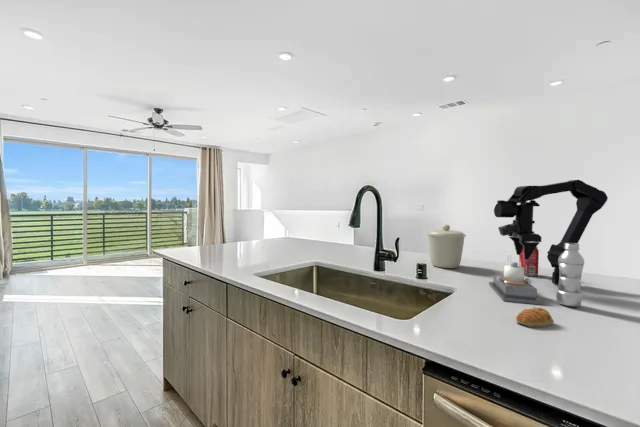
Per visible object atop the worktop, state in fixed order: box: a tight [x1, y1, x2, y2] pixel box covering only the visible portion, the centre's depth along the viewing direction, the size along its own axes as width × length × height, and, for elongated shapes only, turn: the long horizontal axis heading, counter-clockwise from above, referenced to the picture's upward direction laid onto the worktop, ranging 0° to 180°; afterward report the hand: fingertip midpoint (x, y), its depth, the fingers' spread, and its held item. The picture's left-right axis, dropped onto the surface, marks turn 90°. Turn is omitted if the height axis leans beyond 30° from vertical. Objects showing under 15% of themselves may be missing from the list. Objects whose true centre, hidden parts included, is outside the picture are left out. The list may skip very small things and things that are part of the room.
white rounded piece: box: [503, 261, 525, 283], centre depth 106 cm, size 6×6×6 cm
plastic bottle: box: [555, 243, 585, 308], centre depth 94 cm, size 6×7×20 cm
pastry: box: [516, 306, 555, 328], centre depth 81 cm, size 9×7×4 cm
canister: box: [426, 224, 467, 269], centre depth 149 cm, size 18×18×21 cm
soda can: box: [518, 246, 540, 278], centre depth 133 cm, size 7×7×13 cm
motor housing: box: [488, 274, 543, 306], centre depth 106 cm, size 11×20×6 cm, turn 162°
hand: (522, 256), depth 118 cm, fingers open, 9 cm apart
